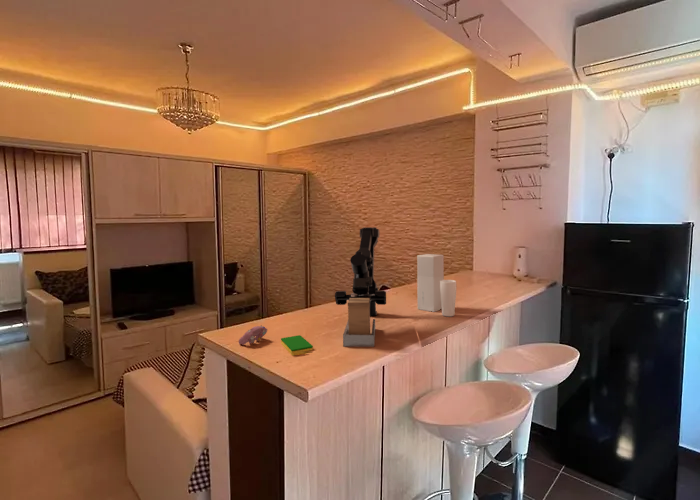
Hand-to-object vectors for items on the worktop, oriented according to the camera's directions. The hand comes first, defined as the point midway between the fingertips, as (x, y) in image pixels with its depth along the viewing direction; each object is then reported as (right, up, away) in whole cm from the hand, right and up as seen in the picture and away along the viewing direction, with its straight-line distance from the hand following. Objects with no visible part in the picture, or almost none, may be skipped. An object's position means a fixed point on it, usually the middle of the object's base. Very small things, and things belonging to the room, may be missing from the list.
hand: (360, 317), depth 138 cm
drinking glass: (+39, -4, +29) cm, 49 cm away
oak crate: (0, -7, -4) cm, 8 cm away
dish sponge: (-22, -9, -7) cm, 25 cm away
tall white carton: (+34, -3, +42) cm, 54 cm away
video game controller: (-38, -9, 0) cm, 39 cm away
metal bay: (0, -8, 0) cm, 8 cm away
